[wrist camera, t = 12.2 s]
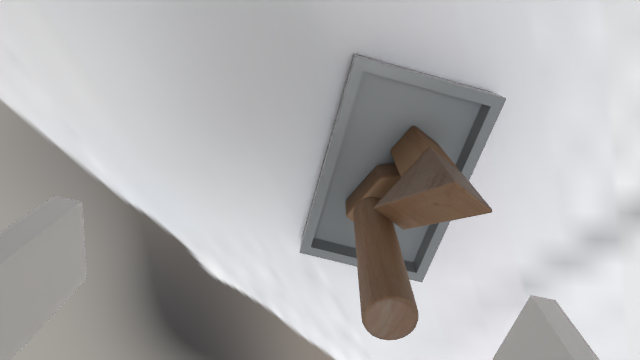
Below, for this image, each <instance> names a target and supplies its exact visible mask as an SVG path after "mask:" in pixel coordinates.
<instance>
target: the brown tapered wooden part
mask: <svg viewBox="0 0 640 360" xmlns="http://www.w3.org/2000/svg"><path fill="white" fill-rule="evenodd" d="M391 154H392V157H393V159H394V162H395V163H392V164H383V165H378V166H376V167H375V168H374V169H373V171H372V172H371V173H370V174H369V175H368V176H367V177H366V178H365V180H364V181H363V182H362V183H361V184H360V185H359V186H358V187H357V189H356V190H355V191H354V192H353V193H352V194H351V195H350V196H349V198H348V199H347V200H346V202H345V203H346V216H347V218H349V219H350V220H352V221H353V222H354V231H355V243H356V255H357V267H358V279H359V291H360V303H361V315H362V323H363V325H364V326H365V328H366V330H367V331H368V332H369V333H370V334H372V335H373V336H375V337H377V338H379V339H384V340H397V339H400V338H403V337H405V336H407V335H408V334H410V333H411V332H412V331H413V329H414V328H415V327H416V324H417V321H418V309H417V306H416V302H415V299H414V295H413V291H412V288H411V284H410V281H409V277H408V274H407V270H406V266H405V263H404V259H403V256H402V252H401V248H400V245H399V241H398V238H397V234H396V231H395V227H394V223H395V224H396V225H398V226H399V227H400V228H402V229H403V230H405V229H411V228H416V227H421V226H426V225H431V224H436V223H441V222H446V221H451V220H456V219H461V218H466V217H471V216H476V215H481V214H486V213H491V212H492V209H491V208H490V207H489V205H488V204H487V203H486V202H485V200H484V199H483V198H482V197H481V196H480V194H479V193H478V192H477V191H476V190H475V188H474V187H473V186H472V185H471V183H470V182H469V181H468V180H467V179H466V177H465V176H464V175H463V174H462V172H461V171H459V170H458V168H457V166H456V165H455V164H454V163H453V161H452V160H451V159H450V158H449V157H448V155H447V154H446V153H445V152H444V151H443V149H442V148H441V147H440V146H439V144H438V143H436V142H435V141H434V140H433V139H431V138H430V137H429V136H428V135H426V134H425V133H424V132H423V131H421V130H420V129H419V128H418V127H416V126H412V127H411V128H410V129H409V130H408V131H407V132H406V133H405V134H404V135H403V137H402V138H401V139H400V140H399V141H398V142H397V143H396V144H395V146H394V147H393V148H392V149H391Z"/></svg>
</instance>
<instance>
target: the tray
mask: <svg viewBox="0 0 640 360" xmlns="http://www.w3.org/2000/svg"><path fill="white" fill-rule="evenodd" d="M505 100H506V98H504V97H502V96H499V95H497V94H495V93H493V92H489V91H485V90H482V89H478V88H475V87H471V86H468V85H464V84H460V83H457V82H453V81H450V80H446V79H443V78H439V77H435V76H432V75H428V74H425V73H421V72H418V71H414V70H410V69H407V68H403V67H400V66H396V65H393V64H389V63H385V62H382V61H378V60H375V59H371V58H368V57H364V56H360V55H357V54H354V56H353V59H352V63H351V66H350V70H349V74H348V77H347V81H346V84H345V88H344V91H343V95H342V98H341V102H340V105H339V109H338V112H337V116H336V119H335V123H334V127H333V130H332V134H331V137H330V141H329V144H328V148H327V151H326V155H325V158H324V162H323V165H322V169H321V173H320V176H319V180H318V183H317V187H316V190H315V194H314V197H313V201H312V204H311V208H310V211H309V215H308V218H307V222H306V226H305V229H304V233H303V236H302V241H301V247H300V253H304V254H308V255H312V256H316V257H320V258H324V259H328V260H332V261H337V262H341V263H345V264H349V265H353V266H357V255H356V243H355V231H354V222H353V221H352V220H350V219H349V218H347V216H346V203H345V202H346V200H347V199H348V198H349V196H350V195H351V194H352V193H353V192H354V191H355V190H356V189H357V187H358V186H359V185H360V184H361V183H362V182H363V181H364V180H365V178H366V177H367V176H368V175H369V174H370V173H371V172H372V171H373V169H374V168H375V167H376V166H378V165H383V164H392V163H395V162H394V159H393V157H392V154H391V149H392V148H393V147H394V146H395V144H396V143H397V142H398V141H399V140H400V139H401V138H402V137H403V135H404V134H405V133H406V132H407V131H408V130H409V129H410V128H411V127H412V126H416V127H418V128H419V129H420V130H421V131H423V132H424V133H425V134H426V135H428V136H429V137H430V138H431V139H433V140H434V141H435V142H436V143H438V144H439V146H440V147H441V148H442V149H443V151H444V152H445V153H446V154H447V155H448V157H449V158H450V159H451V160H452V161H453V163H454V164H455V165H456V166H457V168H458V170H459V171H461V172H462V174H463V175H464V176H465V177H466V179H467V180H468V181H469V179H470V177H471V175H472V172H473V170H474V168H475V166H476V164H477V161H478V159H479V157H480V155H481V153H482V151H483V148H484V146H485V144H486V142H487V140H488V137H489V135H490V133H491V131H492V129H493V127H494V124H495V122H496V120H497V118H498V116H499V114H500V111H501V109H502V107H503V105H504V103H505ZM449 222H450V221H446V222H441V223H436V224H431V225H426V226H421V227H416V228H411V229H405V230H403V229H402V228H400V227H399V226H398V225H396V224H395V223H394V227H395V231H396V234H397V238H398V241H399V245H400V248H401V252H402V256H403V259H404V263H405V266H406V270H407V274H408V277H409V279H410V280H415V281H419V282H422V281H423V279H424V277H425V275H426V273H427V270H428V268H429V266H430V264H431V262H432V259H433V257H434V255H435V253H436V251H437V249H438V246H439V244H440V242H441V240H442V238H443V236H444V233H445V231H446V229H447V227H448V225H449Z"/></svg>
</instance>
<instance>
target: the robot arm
mask: <svg viewBox="0 0 640 360" xmlns="http://www.w3.org/2000/svg"><path fill="white" fill-rule="evenodd" d="M86 279H87V274H86V256H85V241H84V224H83V206H82V202H81V201H77V200H72V199H67V198H62V197H57V196H53V197H52V198H50V199H49V200H47V201H46V202H44V203H43V204H41V205H40V206H38V207H37V208H35V209H34V210H32V211H31V212H29V213H28V214H26V215H25V216H23V217H22V218H20V219H19V220H17V221H16V222H14V223H13V224H11V225H10V226H8V227H7V228H5V229H4V230H2V231H1V232H0V360H12V359H13V358H14V357H15V356H16V355H17V354H18V353H19V351H20V350H21V349H22V348H23V347H24V346H25V345H26V344H27V343H28V342H29V341H30V340H31V338H32V337H33V336H34V335H35V334H36V333H37V332H38V331H39V330H40V329H41V328H42V327H43V325H44V324H45V323H46V322H47V321H48V320H49V319H50V318H51V317H52V316H53V315H54V313H55V312H56V311H57V310H58V309H59V308H60V307H61V306H62V305H63V304H64V303H65V302H66V301H67V299H68V298H69V297H70V296H71V295H72V294H73V293H74V292H75V291H76V290H77V288H79V286H80V285H81V284H82V283H83V282H84V281H85V280H86ZM493 360H599V358H598V357H597V356H596V354H595V353H594V352H593V350H592V349H591V348H590V346H589V345H588V344H587V342H586V341H585V340H584V338H583V337H582V336H581V334H580V333H579V331H578V330H577V329H576V327H575V326H574V325H573V323H572V322H571V321H570V319H569V318H568V317H567V315H566V314H565V313H564V311H563V310H562V308H561V307H560V306H559V304H558V303H557V302H556V300H552V299H547V298H542V297H537V296H533V295H531V296H530V298H529V299H528V301H527V303H526V304H525V306H524V308H523V309H522V311H521V313H520V314H519V316H518V318H517V319H516V321H515V323H514V324H513V326H512V328H511V329H510V331H509V333H508V334H507V336H506V338H505V339H504V341H503V343H502V344H501V346H500V348H499V349H498V351H497V353H496V354H495V356H494V358H493Z"/></svg>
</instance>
